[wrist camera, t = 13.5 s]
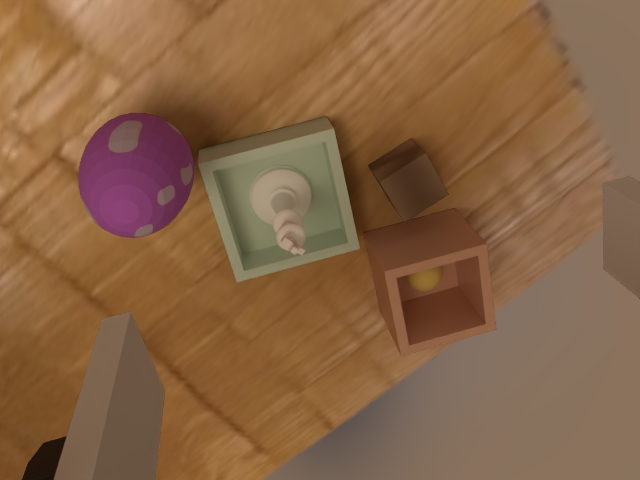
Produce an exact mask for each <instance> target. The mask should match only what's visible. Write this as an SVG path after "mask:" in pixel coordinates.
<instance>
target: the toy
mask: <svg viewBox="0 0 640 480" xmlns="http://www.w3.org/2000/svg"><path fill="white" fill-rule="evenodd" d="M193 178H194V162H193V157H192V153H191V149H190V147H189V145H188V143H187V141H186V139H185V138H184V136H183V135H182V134H181V133H180V131H179V130H178V129H177V128H175V127H174V126H173V125H172V124H170V123H169V122H168V121H166V120H164V119H162V118H160V117H158V116H154V115H150V114H146V113H129V114H124V115H120V116H118V117H116V118H114V119H111V120H109V121H108V122H107V123H105V124H104V125H103V126H102V127H100V128H99V129H98V130H97V131H96V132H95V134H94V135H93V136H92V138H91V139H90V141H89V142H88V144H87V145H86V147H85V150H84V153H83V155H82V158H81V162H80V166H79V177H78V180H79V189H80V195H81V199H82V201H83V203H84V206H85V208H86V210H87V212H88V213H89V215H90V216H91V217H92V219H93V220H94V221H95V222H96V223H97V224H98V225H99V226H100V227H102V228H103V229H104V230H106V231H108V232H110V233H112V234H115V235H118V236H122V237H130V238H135V237H144V236H147V235H150V234H153V233H155V232H157V231H159V230H160V229H162V228H164V227H165V226H167V225H168V224H169V223H170V222H171V221H172V220H173V219H174V218H175V217H176V216H177V215H178V214H179V213H180V211H181V210H182V208H183V207H184V205H185V203H186V202H187V199H188V197H189V194H190V191H191V188H192V184H193Z"/></svg>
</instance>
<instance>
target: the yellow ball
mask: <svg viewBox="0 0 640 480" xmlns="http://www.w3.org/2000/svg"><path fill="white" fill-rule="evenodd" d="M406 277H407V280H408V282H409V284H410V285H411V286H412V287H413V288H415V289H417V290H420V291H428V290H432V289H433V288H435V287H436V286H437V285H438V284H439V283H440V281H441V278H442V269H441V266H438V267H435V268H431V269H427V270H424V271H420V272H416V273H413V274H409V275H406Z"/></svg>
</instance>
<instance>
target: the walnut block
mask: <svg viewBox="0 0 640 480" xmlns="http://www.w3.org/2000/svg"><path fill="white" fill-rule="evenodd" d="M368 166H369V168H370V170H371V171H372V173H373V175H374V176H375V178H376V179H377V181H378V183H379V184H380V186H381V188H382V189H383V191H384V192H385V194H386V196H387V197H388V199H389V201H390V202H391V204H392V205H393V207H394V208H395V210H396V211H397V212H398V214H399V215H400V217H401V218H402V220H403V221H404V222H405V221H407V220H409V219H410V218H412V217H413V216H415V215H417V214H418V213H420V212H421V211H423V210H425V209H426V208H428V207H429V206H431V205H433V204H434V203H436V202H437V201H439V200H441V199H442V198H444V197H445V196H447V195H449V194H448V192H447V190H446V188H445V186H444V185H443V183H442V181H441V179H440V177H439V175H438V174H437V172H436V170H435V168H434V166H433V165H432V163H431V161H430V159H429V157H428V156H427V154H426V152H425V151H424V150H423V149H421V148H420V147H419V146H418V145H417V144H416V143H415V142H414V141H413V140H412V139H411V138H410V139H408V140H407V141H405V142H404V143H402V144H401V145H399V146H397V147H396V148H394V149H393V150H391V151H390V152H388V153H386V154H385V155H383V156H382V157H380V158H379V159H377V160H376V161H374V162H372V163H371V164H369V165H368Z"/></svg>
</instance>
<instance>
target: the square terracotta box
mask: <svg viewBox="0 0 640 480" xmlns="http://www.w3.org/2000/svg"><path fill="white" fill-rule="evenodd" d="M364 237H365V242H366V246H367V251H368V256H369V261H370V265H371V270H372V275H373V280H374V285H375V289H376V294H377V299H378V304H379V308H380V312H381V314H382V316H383V318H384V320H385V322H386V325H387V327H388V329H389V331H390V333H391V336H392V338H393V340H394V342H395V344H396V346H397V349H398V351H399V353H400V355H401V356H404V355H407V354H411V353H415V352H418V351H422V350H425V349H429V348H432V347H436V346H439V345H443V344H447V343H450V342H454V341H457V340H461V339H464V338H468V337H471V336H475V335H478V334H482V333H486V332H489V331H493V330H496V322H495V313H494V303H493V294H492V285H491V275H490V266H489V256H488V247H487V243H486V242H485V241H484V240H483V239H482V238H481V236H480V235H479V234H478V233H477V232H476V231H475V230H474V229H473V228H472V227H471V226H470V225H469V224H468V222H467V221H466V220H465V219H464V218H463V217H462V216H461V215H460V214H459V213H458V212H457V211H456V209H455V208H453V209H449V210H446V211H442V212H438V213H435V214H431V215H427V216H424V217H420V218H416V219H413V220H409V221H405V222H402V223H398V224H394V225H390V226H387V227H383V228H379V229H376V230H372V231H368V232H365V233H364ZM438 266H441V269H442V278H441V281H440V283H439V284H438V285H437V286H436V287H435V288H433V289H432V290H428V291H420V290H417V289H415V288H413V287H412V286H411V285H410V284H409V282H408V280H407V277H406V275H409V274H413V273H416V272H420V271H424V270H427V269H431V268H435V267H438Z"/></svg>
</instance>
